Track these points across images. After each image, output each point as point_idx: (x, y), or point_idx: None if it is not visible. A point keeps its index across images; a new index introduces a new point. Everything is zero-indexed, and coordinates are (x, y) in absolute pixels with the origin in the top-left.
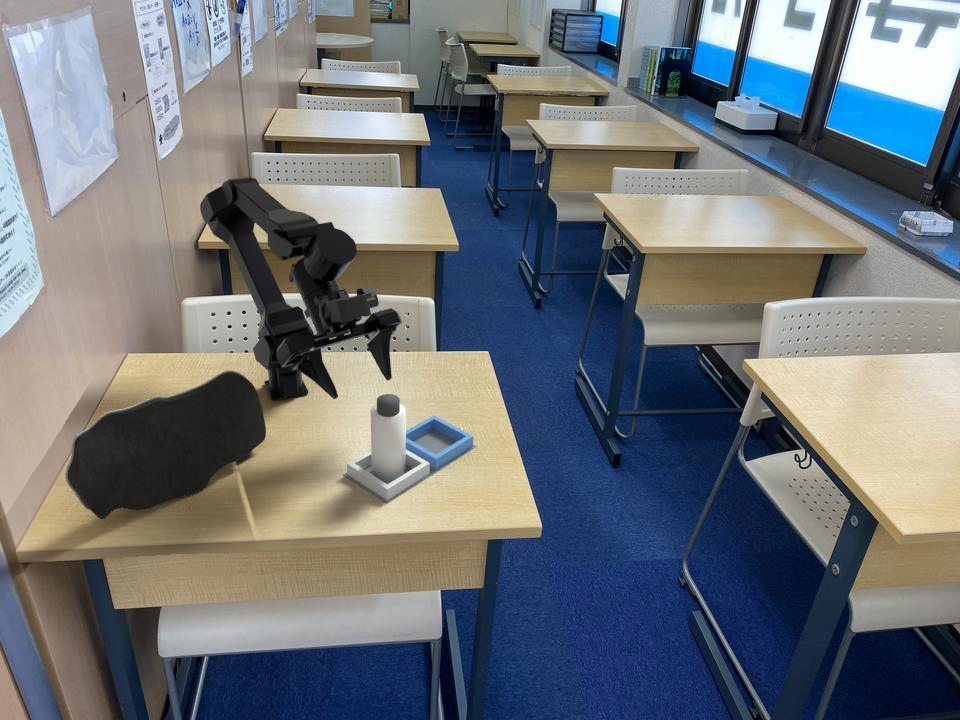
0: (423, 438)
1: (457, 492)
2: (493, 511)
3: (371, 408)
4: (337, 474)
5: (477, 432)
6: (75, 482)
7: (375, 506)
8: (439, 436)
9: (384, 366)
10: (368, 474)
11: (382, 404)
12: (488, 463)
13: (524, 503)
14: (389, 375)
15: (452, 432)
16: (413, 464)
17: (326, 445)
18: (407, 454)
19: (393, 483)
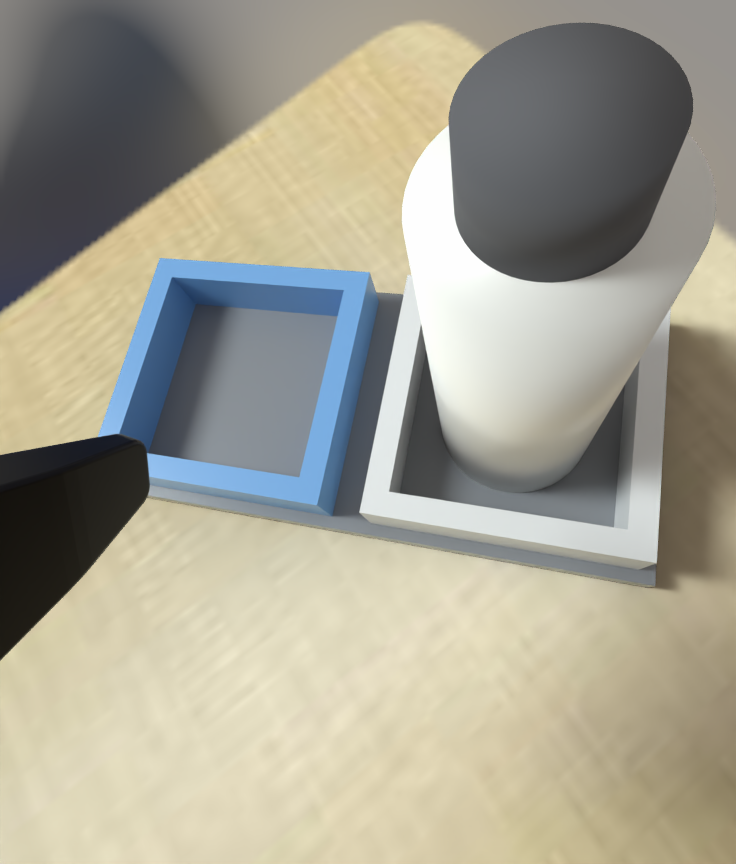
0: (223, 458)
1: None
2: (440, 89)
3: (625, 315)
4: (638, 635)
5: (84, 344)
6: None
7: (686, 364)
8: (182, 414)
9: (21, 518)
10: (649, 419)
11: (675, 91)
12: (233, 222)
13: (356, 56)
14: (117, 442)
15: (159, 353)
16: (420, 358)
17: (490, 856)
18: (409, 378)
19: None
